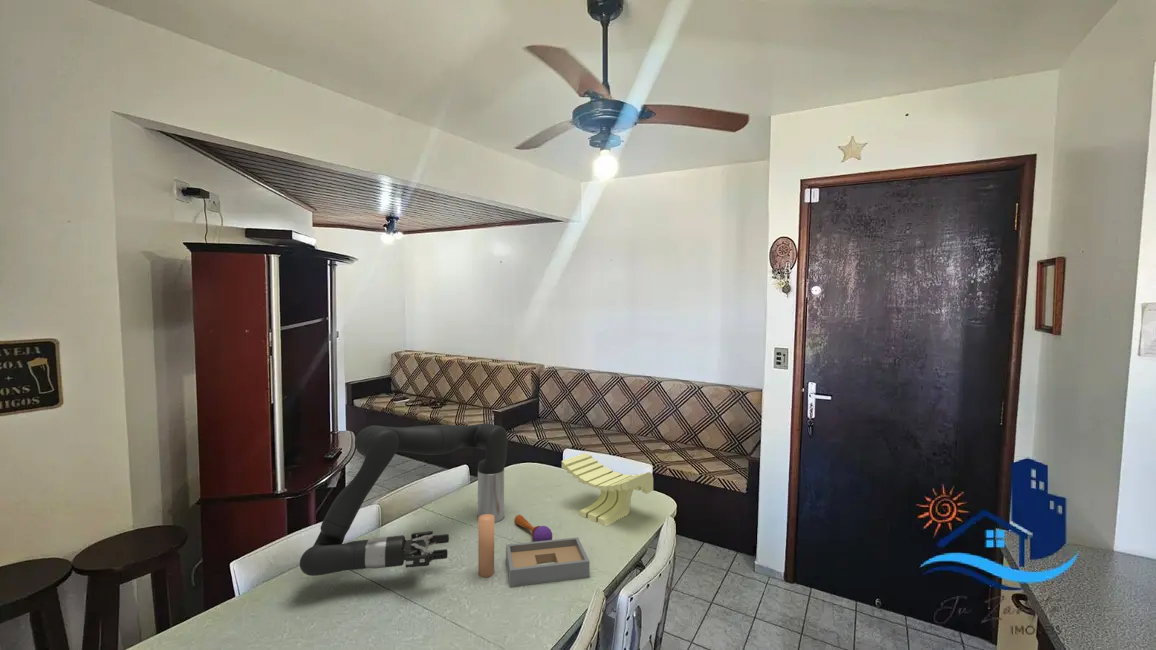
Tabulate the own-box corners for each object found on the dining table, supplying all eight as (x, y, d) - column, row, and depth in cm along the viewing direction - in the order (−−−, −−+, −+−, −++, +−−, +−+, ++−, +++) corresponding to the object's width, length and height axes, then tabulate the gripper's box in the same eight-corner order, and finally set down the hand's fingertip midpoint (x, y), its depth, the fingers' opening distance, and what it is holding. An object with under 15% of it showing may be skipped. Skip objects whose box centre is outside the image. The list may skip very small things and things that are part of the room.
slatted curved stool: (652, 519, 169) (653, 469, 168) (625, 534, 157) (626, 481, 157) (589, 495, 189) (589, 451, 189) (561, 507, 178) (561, 460, 177)
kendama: (527, 510, 166) (556, 528, 150) (525, 527, 166) (554, 548, 149) (512, 511, 163) (540, 530, 146) (509, 529, 162) (538, 550, 146)
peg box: (505, 559, 141) (506, 544, 141) (577, 551, 146) (578, 537, 146) (510, 586, 128) (510, 570, 127) (589, 577, 133) (589, 561, 132)
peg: (478, 569, 136) (478, 514, 135) (493, 567, 137) (493, 513, 136) (478, 578, 131) (478, 521, 131) (494, 576, 132) (494, 520, 132)
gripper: (380, 551, 120) (447, 545, 124) (389, 526, 134) (449, 520, 138) (381, 580, 121) (447, 573, 124) (390, 552, 135) (449, 546, 138)
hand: (448, 545), depth 131 cm, fingers open, 8 cm apart
